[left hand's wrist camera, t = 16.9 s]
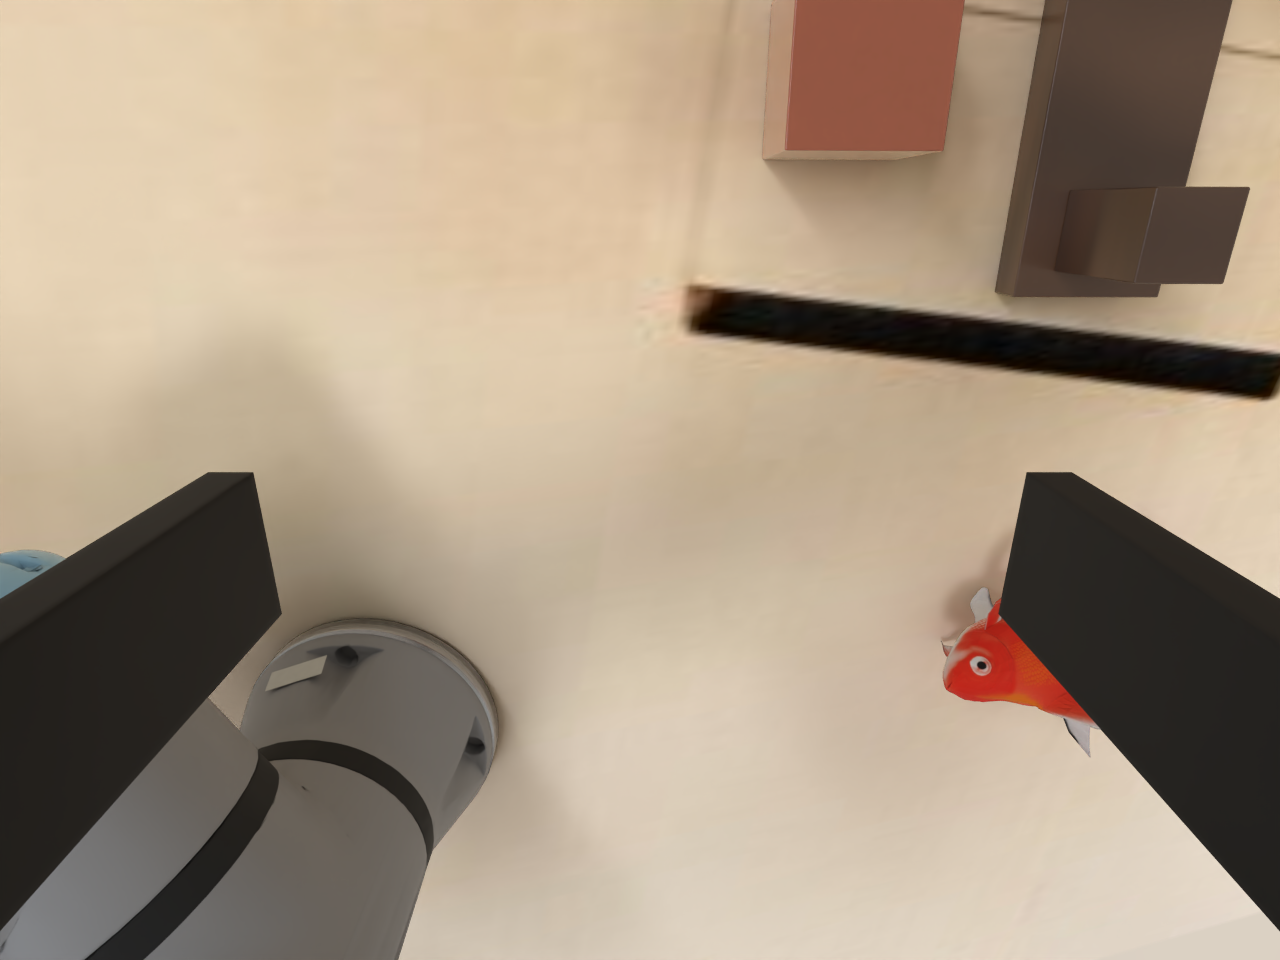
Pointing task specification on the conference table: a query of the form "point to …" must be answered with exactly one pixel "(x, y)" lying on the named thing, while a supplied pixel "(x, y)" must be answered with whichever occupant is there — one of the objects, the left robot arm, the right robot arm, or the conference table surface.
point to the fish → (1007, 670)
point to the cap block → (859, 78)
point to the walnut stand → (1118, 154)
